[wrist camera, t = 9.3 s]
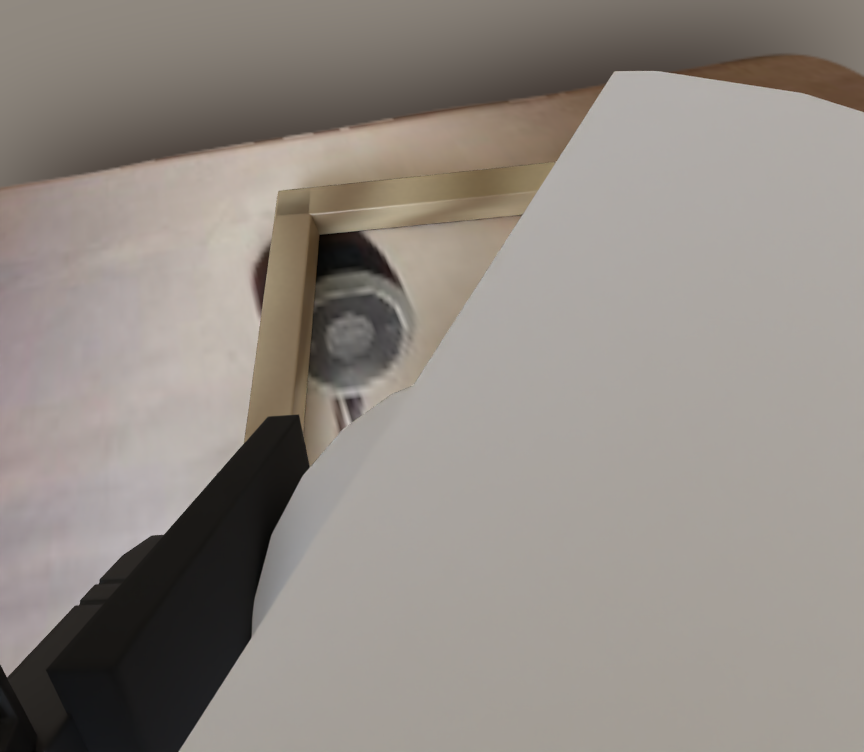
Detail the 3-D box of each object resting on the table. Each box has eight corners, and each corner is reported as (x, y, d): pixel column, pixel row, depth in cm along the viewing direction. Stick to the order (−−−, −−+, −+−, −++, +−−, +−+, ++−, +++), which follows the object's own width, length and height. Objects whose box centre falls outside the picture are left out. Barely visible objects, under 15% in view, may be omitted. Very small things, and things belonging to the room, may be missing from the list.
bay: (246, 558, 15) (227, 554, 14) (288, 211, 21) (277, 190, 20) (759, 532, 14) (783, 525, 12) (645, 175, 20) (654, 150, 18)
